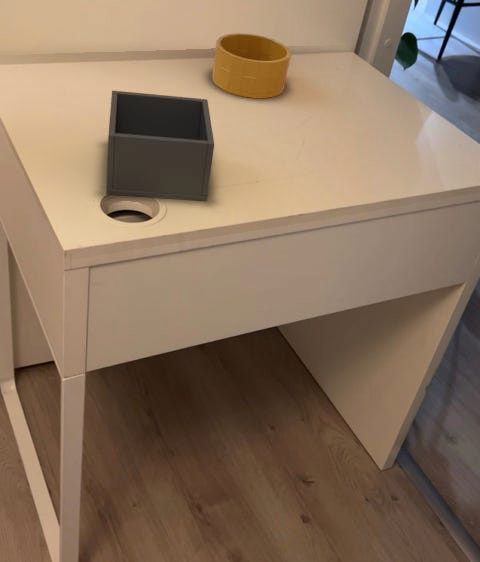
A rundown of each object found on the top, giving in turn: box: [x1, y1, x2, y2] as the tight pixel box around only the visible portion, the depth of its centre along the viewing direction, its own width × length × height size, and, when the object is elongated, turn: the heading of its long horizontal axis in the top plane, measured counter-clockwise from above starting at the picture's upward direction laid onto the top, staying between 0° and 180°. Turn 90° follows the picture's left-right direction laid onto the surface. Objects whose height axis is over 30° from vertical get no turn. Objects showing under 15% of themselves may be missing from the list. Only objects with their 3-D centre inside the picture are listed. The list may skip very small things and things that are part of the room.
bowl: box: [211, 32, 292, 99], centre depth 100 cm, size 10×10×5 cm
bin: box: [105, 90, 215, 202], centre depth 76 cm, size 10×10×7 cm
